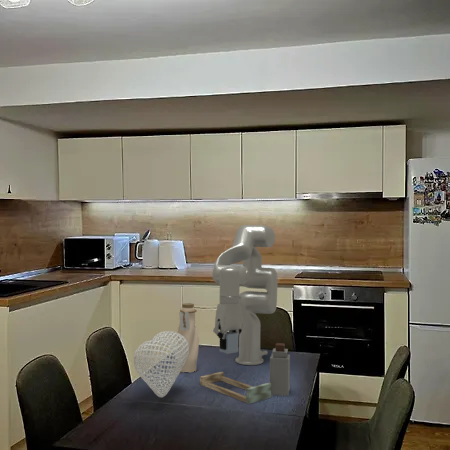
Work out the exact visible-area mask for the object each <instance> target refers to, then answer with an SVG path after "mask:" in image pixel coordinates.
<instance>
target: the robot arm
mask: <svg viewBox="0 0 450 450" xmlns="http://www.w3.org/2000/svg"><path fill="white" fill-rule="evenodd" d="M275 242H276V233H275V231H274V229H273V228H272V227H270V226H269V225H264V224H263V225H262V224H243V225H241V226H239V227H238V228H237V230H236V232H235V235H234V240H233V243H232V244H231V245H232V246H231V247H229V248H228V249H226V250H224V251H223V252H221V254H220V255H219V256H218V257H217V258H216V260H215V263H214V266H213V269H212V279H213V281H214V283H216V284H218V285H219V303H218V304H217V306H216V310H215V318H214V327H213V330H212V332H213V333H214V334H215V335H216V336H217V338H218V339H219V350H220V349H223V350H226V339H225V337H226V333H227V332H228V331H231V332H235V333H238V357H236V358H235V363H236V364H240V365H242V366H243V365H245V366H257V365H261V364H263V363H264V358H263V356H267V355H268V350H261V328H262V327H261V325H262V324H261V320H260V319H259V316H258V315H257V314H269V315H271V314H274V313H275V312H276V310H277V305H278V303H277V302H278V281H279V280H278V273H277V271H276V269H274V268H272V267H262V264H263V263H262V261H263V257H262V254H261V252H260V251H259V250H258V249H257V248H272V247H273V246H274V244H275ZM241 262H242V265H234V264H237V263H241ZM240 286H243V287H245V288H248V289H260V290H265V291H253V290H252V291H251V290H250V291H249V290H247V291H242V292H240ZM222 333H223V335H222Z"/></svg>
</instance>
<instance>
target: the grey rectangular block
mask: <svg viewBox="0 0 450 450" xmlns="http://www.w3.org/2000/svg"><path fill="white" fill-rule="evenodd" d="M222 335H223V333H222ZM225 339H226V350H223V349H220V348H219V352H220V353H223V354H227V355H229V354H234V353H239V337H238V333H235V332H232V330H231V331H227V333H226V337H225Z"/></svg>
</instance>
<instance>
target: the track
mask: <svg viewBox="0 0 450 450" xmlns="http://www.w3.org/2000/svg"><path fill="white" fill-rule="evenodd" d="M217 382H224V383H226V384H228V385H232V386H235V387H237V388H240V389H243V390H245V395H243V394H241V393H238V392H235V391H233V390H231V389H228V388H226V387H222V386H219V385H217V384H215V383H217ZM199 385H200V386H203V387H205V388H207V389H210V390H212V391H214V392H215V391H216V392H218V393H221V394H223V395H226V396H228V397H230V398H233V399H235V400H238V401H241V402H244V403H246V404H248V405H249V404H253V403H256V402H260V401H263V400H267V399H270V398H272V395H271V383H270V382H267V383H262V384H259V385H249V384H247V383H244V382H241V381H238V380H236V379H232V378H230V377H227V376H226V375H225V373H224V372H223V371H218V372H215V373H209V374H205V375H201V376H199Z"/></svg>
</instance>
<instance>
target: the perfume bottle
mask: <svg viewBox="0 0 450 450" xmlns="http://www.w3.org/2000/svg"><path fill="white" fill-rule="evenodd" d="M274 345H275V348H273V349H272V352H271V355H270V357H269V383H271V396H273V395H274V396H283V397H284V396H285V397H289V394H290V383H291V382H290V381H291V379H290V377H291V376H290V374H291V373H290V371H291V367H290V366H291V355H290V354H288V352H289V351H288V350H289V349H288V348H285V345H286V343H284V342H283V343H281V342H276V343H275V344H274Z"/></svg>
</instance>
